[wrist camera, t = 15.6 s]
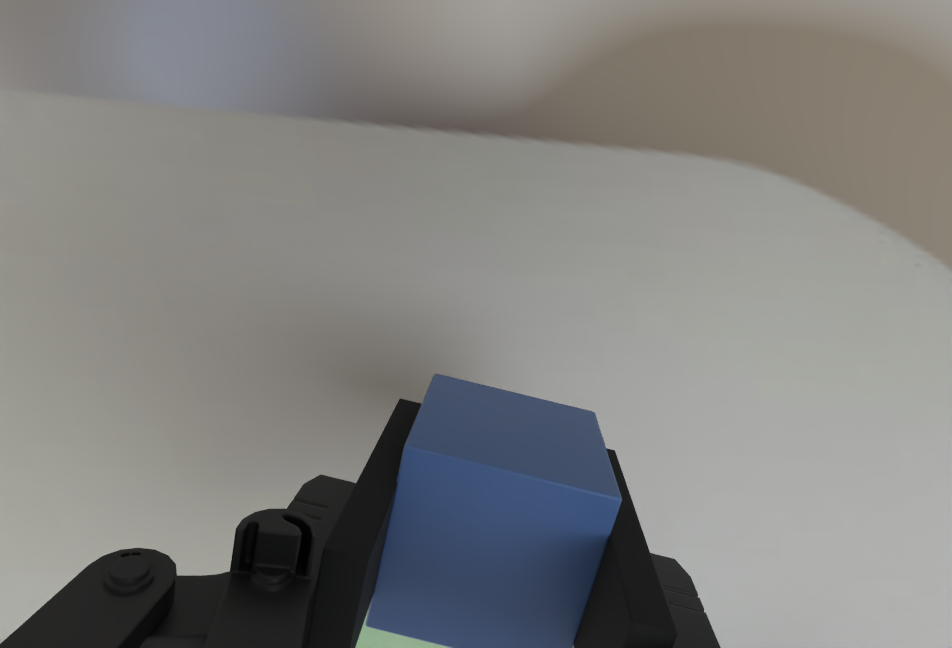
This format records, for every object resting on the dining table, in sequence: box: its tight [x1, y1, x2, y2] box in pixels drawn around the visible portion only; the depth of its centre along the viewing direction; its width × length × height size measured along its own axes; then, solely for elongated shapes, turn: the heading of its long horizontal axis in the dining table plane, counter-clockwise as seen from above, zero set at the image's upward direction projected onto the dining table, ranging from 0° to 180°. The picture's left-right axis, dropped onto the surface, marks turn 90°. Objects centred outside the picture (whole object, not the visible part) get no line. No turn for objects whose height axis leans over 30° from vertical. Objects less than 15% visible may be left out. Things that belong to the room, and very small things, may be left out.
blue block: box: [366, 374, 622, 648], centre depth 14 cm, size 4×4×4 cm
